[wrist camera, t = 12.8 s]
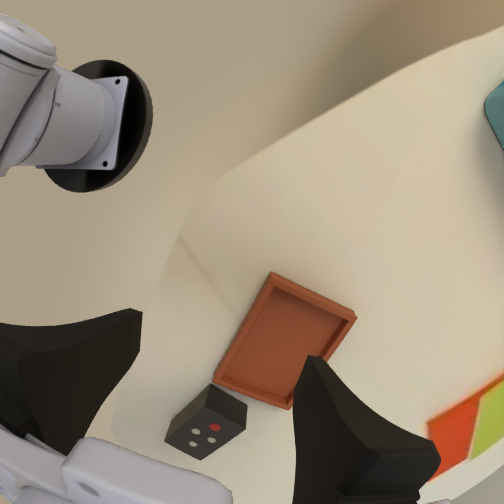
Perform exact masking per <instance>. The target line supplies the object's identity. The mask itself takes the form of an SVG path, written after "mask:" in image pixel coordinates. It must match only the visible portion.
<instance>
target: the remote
mask: <svg viewBox="0 0 504 504" xmlns="http://www.w3.org/2000/svg"><path fill="white" fill-rule="evenodd" d="M246 419H247V405H246V404H244V403H242V402H240V401H239V400H237V399H235V398H233V397H232V396H230V395H228V394H227V393H225V392H223V391H222V390H220V389H218V388H217V387H215V386H214V385H212V384H210V385H209V386H208V387H206V388H205V389H204V390H203V391H202V392H201V393H200V394H199V395H198V396H197V397H196V398H195V399H194V400H193V401H192V402H191V403H190V404H189V405H188V406H187V407H185V408H184V409H183V410H182V411H181V412H180V413H179V414H178V415H177V416H176V417H175V418H174V419H173V420H171V423H170V426H169V429H168V432H167V434H166V437H165V440H164V442H166V443H168V444H169V445H171V446H173V447H175V448H177V449H179V450H181V451H182V452H184V453H186V454H188V455H190V456H192V457H194V458H196V459H198V460H202V459H204V458H205V457H207V456H208V455H210V454H211V453H213V452H214V451H216V450H217V449H218V448H220V447H221V446H223V445H224V444H226V443H227V442H228V441H230V440H231V439H233V438H234V437H235V436H237V435H238V434H240V433H241V432H242V431H244V430H245V429H246Z"/></svg>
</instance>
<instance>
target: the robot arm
mask: <svg viewBox="0 0 504 504" xmlns="http://www.w3.org/2000/svg"><path fill="white" fill-rule="evenodd" d="M56 61H57V55H56V47H55V45H54V44H53V43H52V42H51V41H49V40H48V39H47V38H45V37H44V36H43V35H41V34H40V33H38V32H37V31H35V30H34V29H32V28H30V27H29V26H27V25H25V24H23V23H22V22H20V21H17V20H16V19H14V18H12V17H9V16H7V15H5V14H3V13H0V177H4V176H5V175H6V173H7V171H8V170H9V169H10V168H11V167H12V166H31V165H35V167H36V168H37V169H89V170H114V169H115V168H116V167H117V163H118V154H119V145H120V137H121V130H122V123H123V117H124V111H125V105H126V99H127V94H128V88H129V83H130V79H129V78H128V77H126V76H119V77H109V78H100V79H92V80H89V79H87V78H85V77H82V76H80V75H78V74H76V73H74V72H71V71H69V70H67V69H64V68H62V67H60V66H57V65H55V62H56ZM119 80H120V83H119V84H118V85H117V82H118V81H119ZM106 161H107V162H108V165H107V167H106V166H105V162H106ZM142 314H143V313H142V312H140V311H137V310H134V309H131V308H129V309H124V310H120V311H117V312H113V313H110V314H107V315H104V316H100V317H97V318H93V319H89V320H85V321H81V322H77V323H71V324H65V325H56V326H20V325H11V324H5V323H0V494H1V495H3V496H4V497H5V498H6V499H7V500H8V501H10V502H11V503H12V504H233V497H232V492H231V491H230V490H229V489H228V488H227V487H225V486H224V485H223V484H221V483H220V482H219V481H218V480H216V479H213V478H211V477H208V476H205V475H203V474H200V473H198V472H194V471H190V470H187V469H183V468H180V467H176V466H173V465H170V464H167V463H164V462H161V461H158V460H155V459H152V458H149V457H146V456H143V455H141V454H138V453H135V452H133V451H130V450H128V449H125V448H123V447H120V446H118V445H115V444H113V443H111V442H108V441H105V440H102V439H98V438H95V437H87V438H84V436H85V434H86V432H87V430H88V428H89V426H90V424H91V423H92V420H93V419H94V417H95V415H96V413H97V412H98V410H99V408H100V406H101V405H102V404H103V402H104V401H105V399H106V398H107V396H108V395H109V394H110V393H111V391H112V390H113V389H114V387H115V386H116V385H117V384H118V383H119V381H120V380H121V379H122V378H123V376H124V375H125V374H126V373H127V371H128V370H129V369H130V367H131V366H132V364H133V362H134V361H135V359H136V357H137V355H138V353H139V351H140V340H141V326H142ZM293 422H294V434H295V445H296V471H295V484H294V495H293V502H292V504H417V502H416V501H418V500H419V499H420V494H419V491H418V490H419V489H420V488H421V487H422V486H423V485H424V484H425V483H426V482H427V481H428V480H429V479H430V478H431V477H432V476H433V475H434V473H435V472H436V471H437V469H438V468H439V465H440V463H441V457H440V455H439V453H438V451H437V449H436V446H435V444H434V442H433V441H431V440H428V439H425V438H423V437H420V436H417V435H415V434H412V433H410V432H408V431H406V430H404V429H402V428H400V427H398V426H396V425H394V424H393V423H391V422H389V421H388V420H386V419H385V418H383V417H381V416H380V415H379V414H377V413H376V412H374V411H373V410H372V409H371V408H369V407H368V406H367V405H366V404H364V403H363V402H362V401H361V400H360V399H359V398H358V397H357V396H356V395H355V394H354V393H353V392H352V391H351V390H350V389H349V388H348V387H347V386H346V385H345V384H344V383H343V382H342V380H341V379H340V378H339V377H338V376H337V375H336V373H335V372H334V371H333V370H332V369H331V367H330V366H329V365H328V364H327V363H326V361H325V360H324V359H323V358H322V357H317V356H312V355H308V356H307V359H306V361H305V364H304V366H303V369H302V372H301V374H300V377H299V379H298V382H297V384H296V387H295V389H294V394H293ZM427 504H451V502H450V500H449V499H445V500H440V501H436V502H431V503H427Z"/></svg>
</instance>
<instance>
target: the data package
mask: <svg viewBox="0 0 504 504" xmlns="http://www.w3.org/2000/svg"><path fill="white" fill-rule="evenodd" d="M485 111H486V115H487V118H488V120H489V122H490V124H491V126H492V127H493V129H494V131H495V133H496V135H497V137H498V139H499V141H500V143H501V145H502V147H503V149H504V81H503V82H502V83H501V84H500V85H499V86H498V87H497V88H496V89H495V90H494V91H493V92H492V93H491V94H490V95H489V96H488V97H487V99H486V102H485Z"/></svg>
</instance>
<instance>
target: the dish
mask: <svg viewBox="0 0 504 504" xmlns="http://www.w3.org/2000/svg"><path fill="white" fill-rule="evenodd" d="M356 320H357V316H356V315H355V313H354V311H352V310H350V309H348V308H346V307H344V306H342V305H340V304H338V303H336V302H333V301H331V300H329V299H327V298H325V297H323V296H321V295H319V294H317V293H315V292H313V291H311V290H309V289H306V288H304V287H302V286H300V285H298V284H296V283H294V282H292V281H290V280H288V279H286V278H284V277H282V276H280V275H278V274H275V273H273V272H270V274H269V276H268V278H267V280H266V282H265V283H264V285H263V287H262V289H261V291H260V292H259V294H258V296H257V298H256V300H255V302H254V303H253V305H252V307H251V309H250V311H249V312H248V314H247V316H246V318H245V319H244V321H243V323H242V325H241V327H240V328H239V330H238V332H237V334H236V335H235V337H234V339H233V341H232V343H231V344H230V346H229V348H228V350H227V351H226V353H225V355H224V357H223V358H222V360H221V362H220V364H219V365H218V367H217V369H216V371H215V372H214V375H213V379H212V382H214V383H216V384H218V385H221V386H223V387H226V388H228V389H231V390H233V391H236V392H238V393H241V394H243V395H246V396H249V397H251V398H254V399H257V400H259V401H262V402H265V403H268V404H271V405H274V406H276V407H279V408H282V409H285V410H290V408H291V407H292V406H293V394H294V389H295V387H296V384H297V382H298V379H299V377H300V374H301V372H302V369H303V366H304V364H305V361H306V359H307V356H308V355H312V356H317V357H322V358H323V359H324V360H325V361H326V362H327V361H328V360H329V358H330V357H331V356H332V354H333V353H334V351H335V350H336V349H337V347H338V346H339V344H340V343H341V342H342V340H343V339H344V337H345V336H346V334H347V333H348V331H349V330H350V328H351V327H352V325H353V324H354V323H355V321H356Z"/></svg>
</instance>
